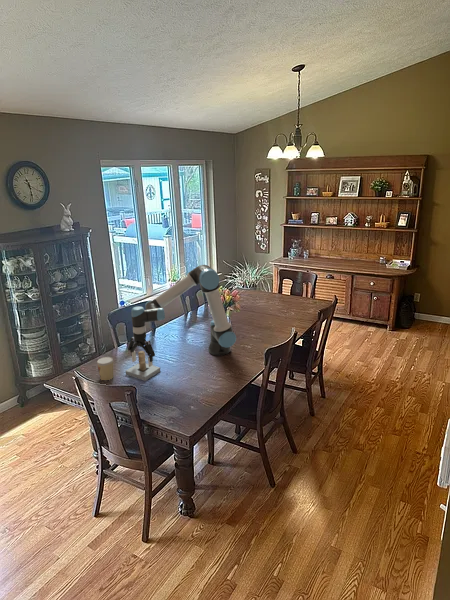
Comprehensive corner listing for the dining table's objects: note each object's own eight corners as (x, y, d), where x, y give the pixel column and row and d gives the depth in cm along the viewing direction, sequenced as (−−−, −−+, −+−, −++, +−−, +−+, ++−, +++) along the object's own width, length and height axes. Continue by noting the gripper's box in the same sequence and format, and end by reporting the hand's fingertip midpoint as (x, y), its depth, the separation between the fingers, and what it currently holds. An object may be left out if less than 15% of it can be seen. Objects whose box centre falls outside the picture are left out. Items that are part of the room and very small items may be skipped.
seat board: (160, 371, 256) (160, 367, 255) (145, 380, 244) (144, 377, 243) (141, 365, 264) (141, 361, 263) (125, 374, 252) (125, 370, 251)
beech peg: (147, 372, 254) (146, 351, 250) (143, 374, 251) (141, 354, 247) (142, 370, 257) (141, 350, 252) (138, 373, 253) (136, 353, 249)
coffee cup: (100, 374, 253) (98, 357, 249) (116, 373, 253) (114, 356, 249) (97, 382, 244) (95, 364, 240) (113, 381, 244) (111, 363, 241)
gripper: (159, 333, 242) (161, 365, 249) (128, 326, 254) (131, 356, 261) (151, 338, 236) (153, 370, 243) (120, 330, 248) (123, 361, 255)
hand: (142, 363), depth 252 cm, fingers open, 13 cm apart
